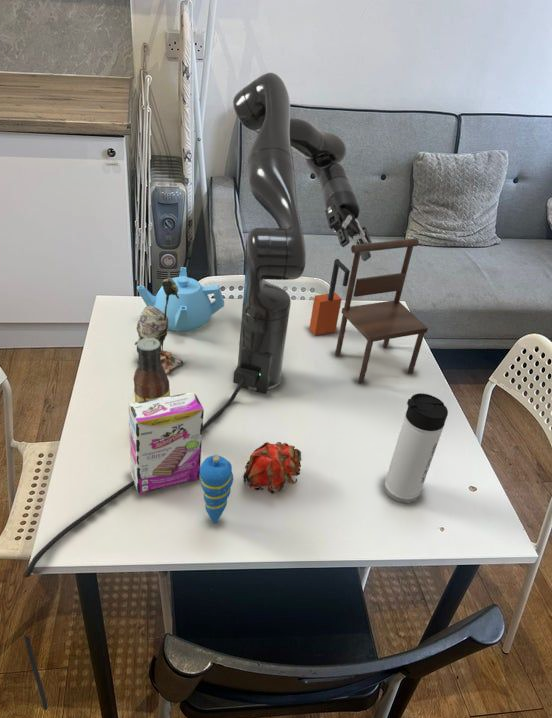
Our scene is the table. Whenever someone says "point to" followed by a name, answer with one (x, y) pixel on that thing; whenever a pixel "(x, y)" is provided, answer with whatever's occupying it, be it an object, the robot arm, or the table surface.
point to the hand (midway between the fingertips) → (356, 251)
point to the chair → (380, 306)
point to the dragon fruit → (272, 466)
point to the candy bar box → (165, 441)
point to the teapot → (185, 303)
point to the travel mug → (415, 447)
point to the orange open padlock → (328, 305)
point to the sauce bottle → (150, 372)
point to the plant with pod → (159, 326)
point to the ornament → (216, 485)
